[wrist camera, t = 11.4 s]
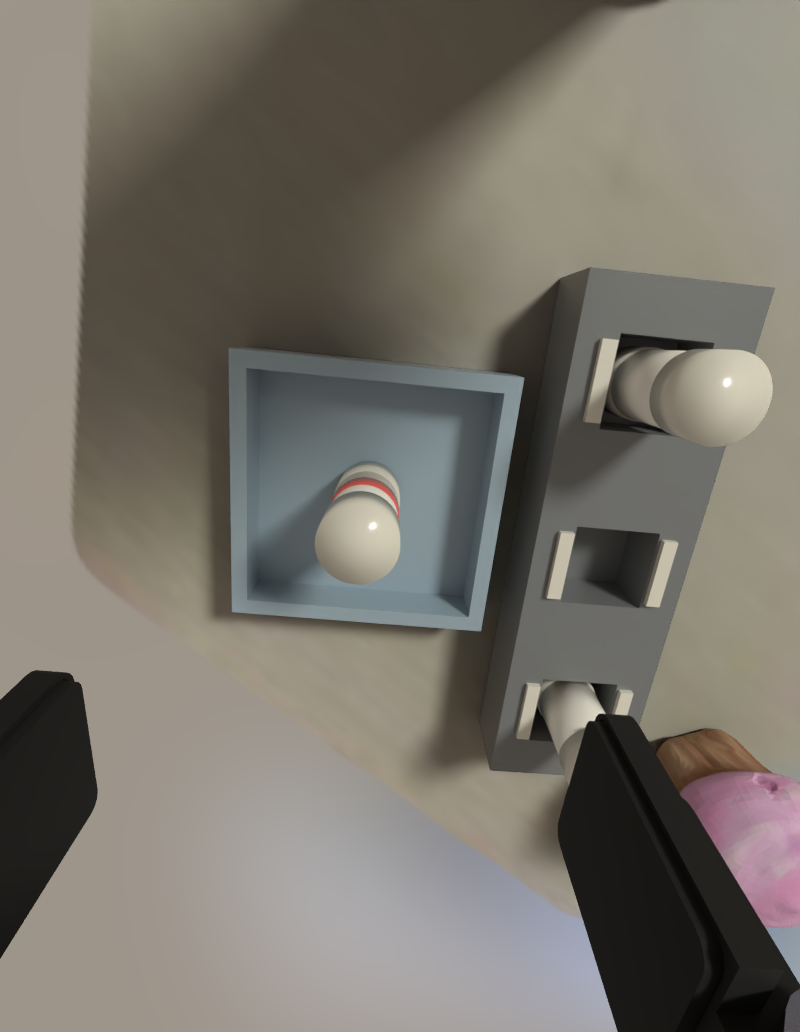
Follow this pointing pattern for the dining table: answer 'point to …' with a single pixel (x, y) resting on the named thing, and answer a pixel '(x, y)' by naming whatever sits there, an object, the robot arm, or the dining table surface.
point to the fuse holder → (603, 507)
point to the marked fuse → (361, 525)
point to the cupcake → (743, 817)
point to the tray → (355, 438)
